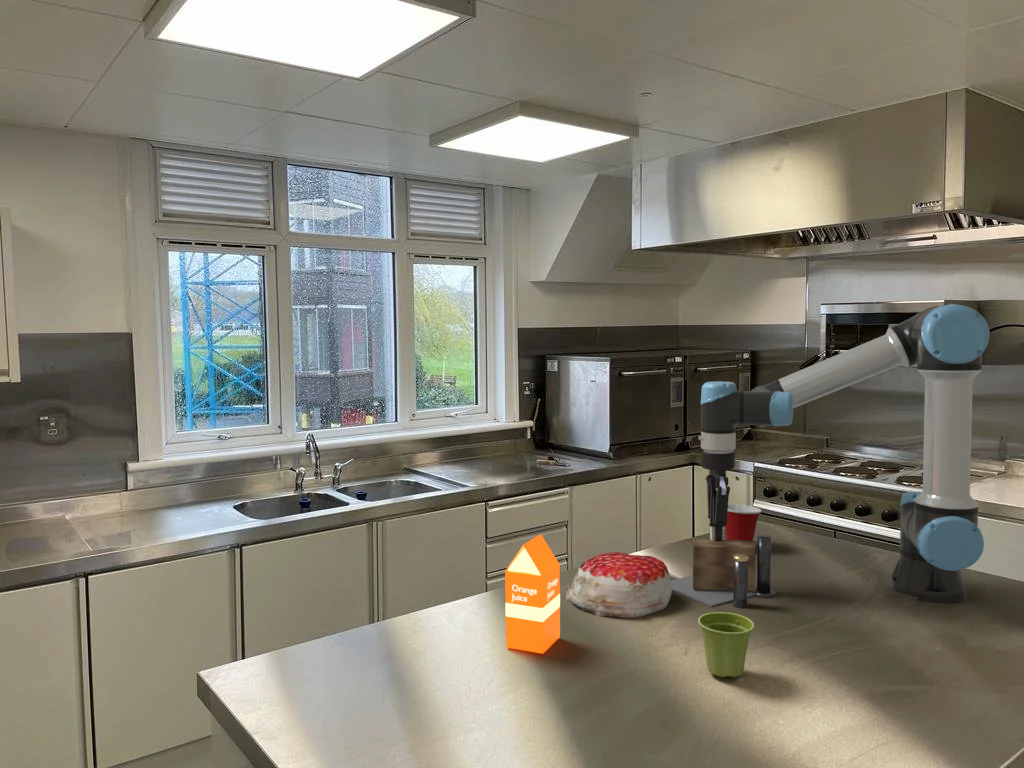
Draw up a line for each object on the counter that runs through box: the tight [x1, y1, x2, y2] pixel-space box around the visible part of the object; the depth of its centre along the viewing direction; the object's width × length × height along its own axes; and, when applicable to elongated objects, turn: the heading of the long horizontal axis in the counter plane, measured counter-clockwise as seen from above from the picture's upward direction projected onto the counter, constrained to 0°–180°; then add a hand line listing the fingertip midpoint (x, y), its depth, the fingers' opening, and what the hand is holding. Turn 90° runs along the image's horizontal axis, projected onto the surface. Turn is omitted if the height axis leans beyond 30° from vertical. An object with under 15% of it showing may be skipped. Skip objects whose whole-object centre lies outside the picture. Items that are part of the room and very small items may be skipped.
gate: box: [692, 539, 757, 591], centre depth 174 cm, size 14×1×11 cm, turn 83°
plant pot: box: [697, 611, 755, 678], centre depth 134 cm, size 9×9×9 cm
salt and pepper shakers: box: [732, 534, 776, 609], centre depth 170 cm, size 7×14×13 cm, turn 120°
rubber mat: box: [670, 575, 757, 608], centre depth 177 cm, size 17×17×1 cm
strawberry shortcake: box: [565, 551, 673, 619], centre depth 172 cm, size 23×24×10 cm
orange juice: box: [504, 533, 561, 654], centre depth 147 cm, size 8×9×20 cm
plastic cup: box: [724, 503, 763, 541], centre depth 207 cm, size 11×11×12 cm
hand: (716, 553), depth 175 cm, fingers closed
